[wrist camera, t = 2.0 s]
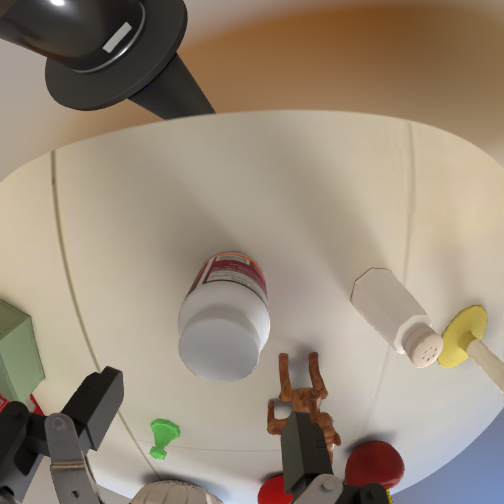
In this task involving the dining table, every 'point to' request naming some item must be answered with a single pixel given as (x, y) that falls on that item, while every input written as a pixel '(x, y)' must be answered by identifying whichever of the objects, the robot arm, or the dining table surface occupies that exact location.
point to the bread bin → (19, 351)
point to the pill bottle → (224, 319)
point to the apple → (374, 465)
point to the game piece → (163, 437)
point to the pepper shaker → (396, 316)
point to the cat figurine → (304, 402)
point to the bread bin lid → (6, 384)
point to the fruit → (274, 492)
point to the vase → (174, 494)
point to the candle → (470, 344)
